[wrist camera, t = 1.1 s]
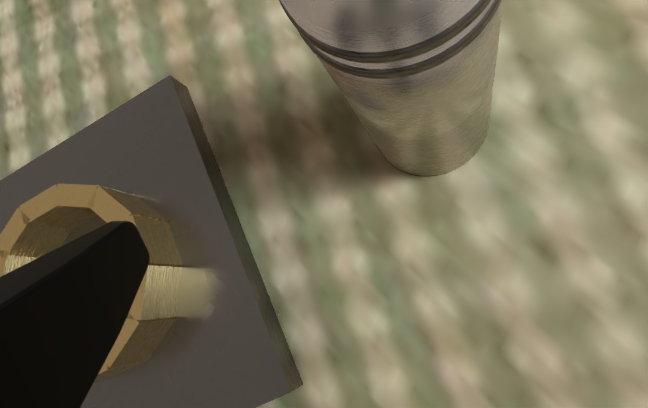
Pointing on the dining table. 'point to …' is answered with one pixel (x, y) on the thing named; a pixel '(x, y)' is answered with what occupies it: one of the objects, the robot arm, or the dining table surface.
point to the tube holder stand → (158, 256)
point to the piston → (410, 72)
